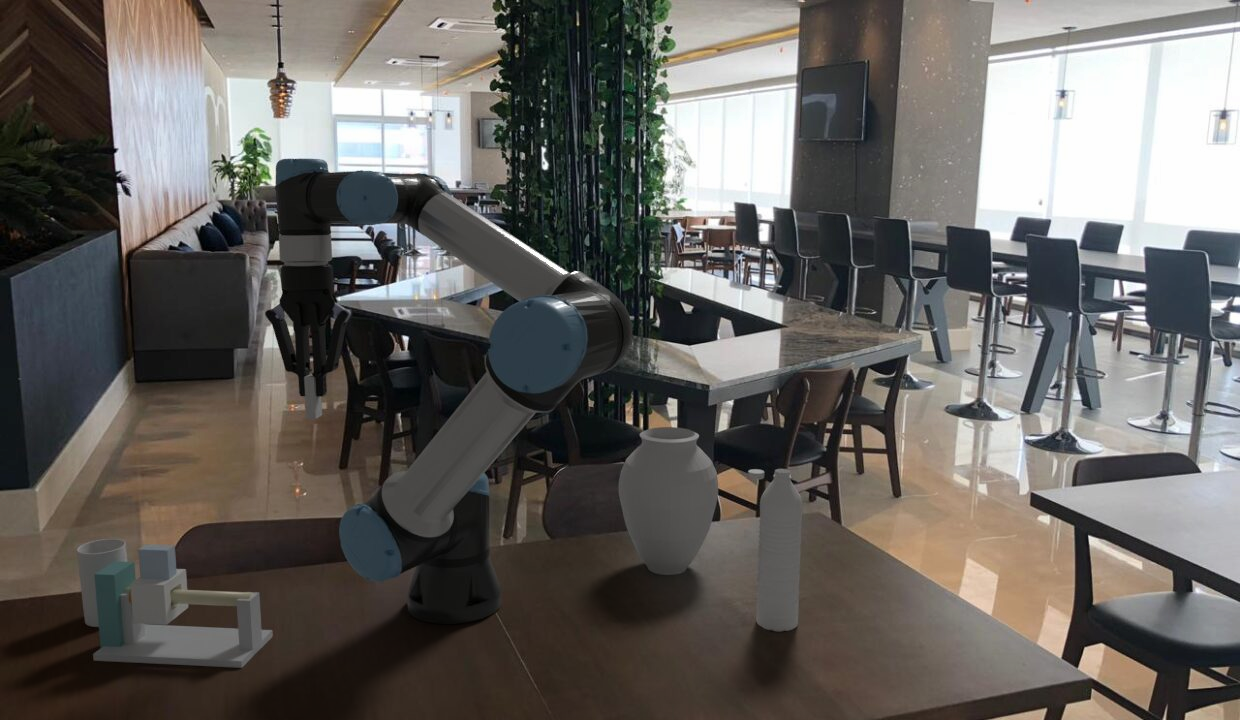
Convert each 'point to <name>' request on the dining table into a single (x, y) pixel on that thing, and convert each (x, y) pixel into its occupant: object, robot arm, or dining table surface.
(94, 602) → the mug
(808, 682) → the dining table surface
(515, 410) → the robot arm
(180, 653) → the grey vise fixture
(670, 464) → the vase
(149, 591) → the grey stepped block
